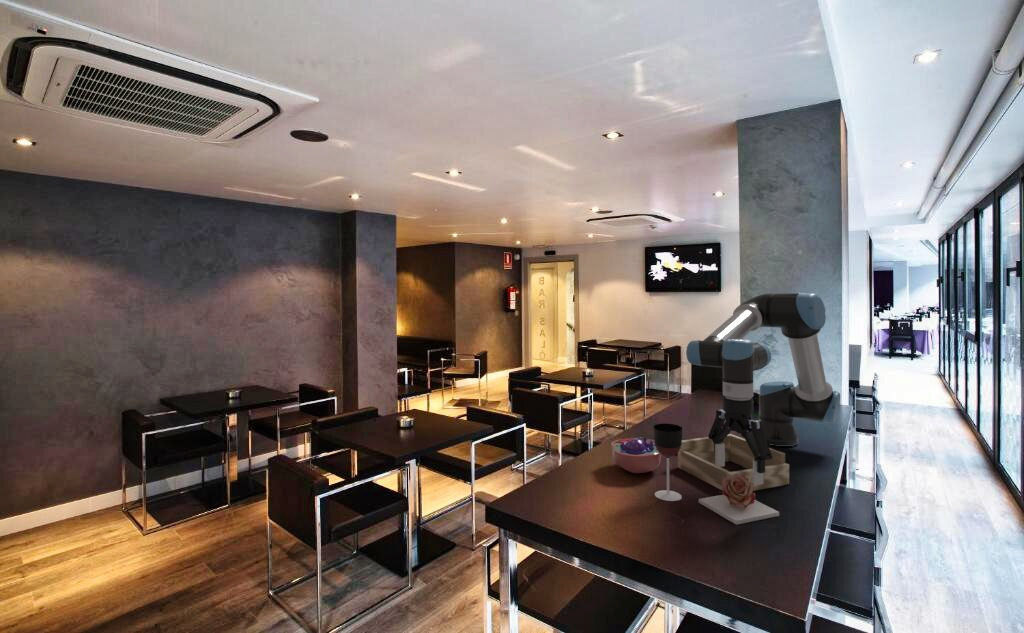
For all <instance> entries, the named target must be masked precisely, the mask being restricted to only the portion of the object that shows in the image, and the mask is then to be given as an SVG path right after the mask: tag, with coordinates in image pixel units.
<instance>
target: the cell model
mask: <svg viewBox="0 0 1024 633" xmlns="http://www.w3.org/2000/svg"><path fill="white" fill-rule="evenodd" d="M610 444H611V445H610V446H611V452H612V453H611V454H612V456H611V457H612V459H613V461H614V462H615V464H616V465H617V466H618V467H620V468H622V469H624V470H625V471H627V472H629V473H631V474H644V473H649V472H653V471H654V470H656V469H657V468H658V467H659V466H660V464H661V462H662V461H661V460H662V456H663V455H662V454H661V453H659V452H658V450H657V448H656V446H655V441H654V440H650V439H647V438H646V437H644V438H636V437H629V438H620V439H616V440H613V441H612V442H611V443H610Z"/></svg>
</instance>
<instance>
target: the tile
mask: <svg viewBox="0 0 1024 633" xmlns="http://www.w3.org/2000/svg"><path fill="white" fill-rule="evenodd" d="M754 501H755V502H754V504H750V505H748V506H747V507H746V508H745V507H743V505H741V504H739V505H737V504H736V505H734V504H731V505H730V502H729V500H728V499H727V498H726V496H725V495H724V494H721V495H715V496H714V495H713V496H706V497H703V498H698V503H699V504H700V505H702V506H704V507H706V508H707V509H709V510H711V511H713V512H714V513H716V514H717V515H719V516H721V517H722V518H724V519H726V520H728V521H729V522H730V523H732V524H734V525H741V524H747V523H751V522H756V521H760V520H765V519H770V518H775V517H780V511H778V510H776V509H774V508H772V507H770V506H768V505H766V504H764V503H762V502H760V501H758V500H757V499H755V500H754Z"/></svg>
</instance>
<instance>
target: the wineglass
mask: <svg viewBox="0 0 1024 633" xmlns="http://www.w3.org/2000/svg"><path fill="white" fill-rule="evenodd" d="M653 435H654V441H655V446H656V448H657V450H658V452H659V453H661V454H662V455H661V456H664V457H665V458H666V489H664V490H657V491H656V492H655V493H654V496H655V497H656V498H658V499H660V500H663V501H666V502H668V501H669V502H675V501H680V500H682V498H683V497H682V494H681V493H679V492H676V491H674V490H670V458H671V457H674V456H676V454H677V453H678V452H679V450H680V447H681V443H682V438H683V427H682V426H680V425H678V424H674V423H657V424H655V425H653Z"/></svg>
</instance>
